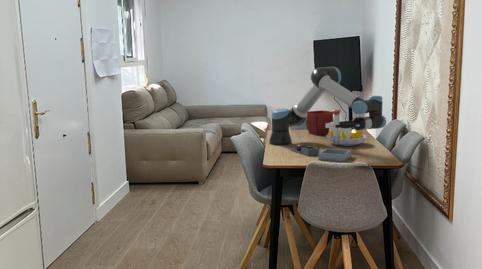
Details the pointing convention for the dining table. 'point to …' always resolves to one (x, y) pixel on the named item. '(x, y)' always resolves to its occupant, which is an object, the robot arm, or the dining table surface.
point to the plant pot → (318, 122)
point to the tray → (335, 155)
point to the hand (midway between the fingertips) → (328, 126)
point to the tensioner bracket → (305, 150)
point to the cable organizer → (346, 130)
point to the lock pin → (336, 131)
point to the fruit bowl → (348, 137)
